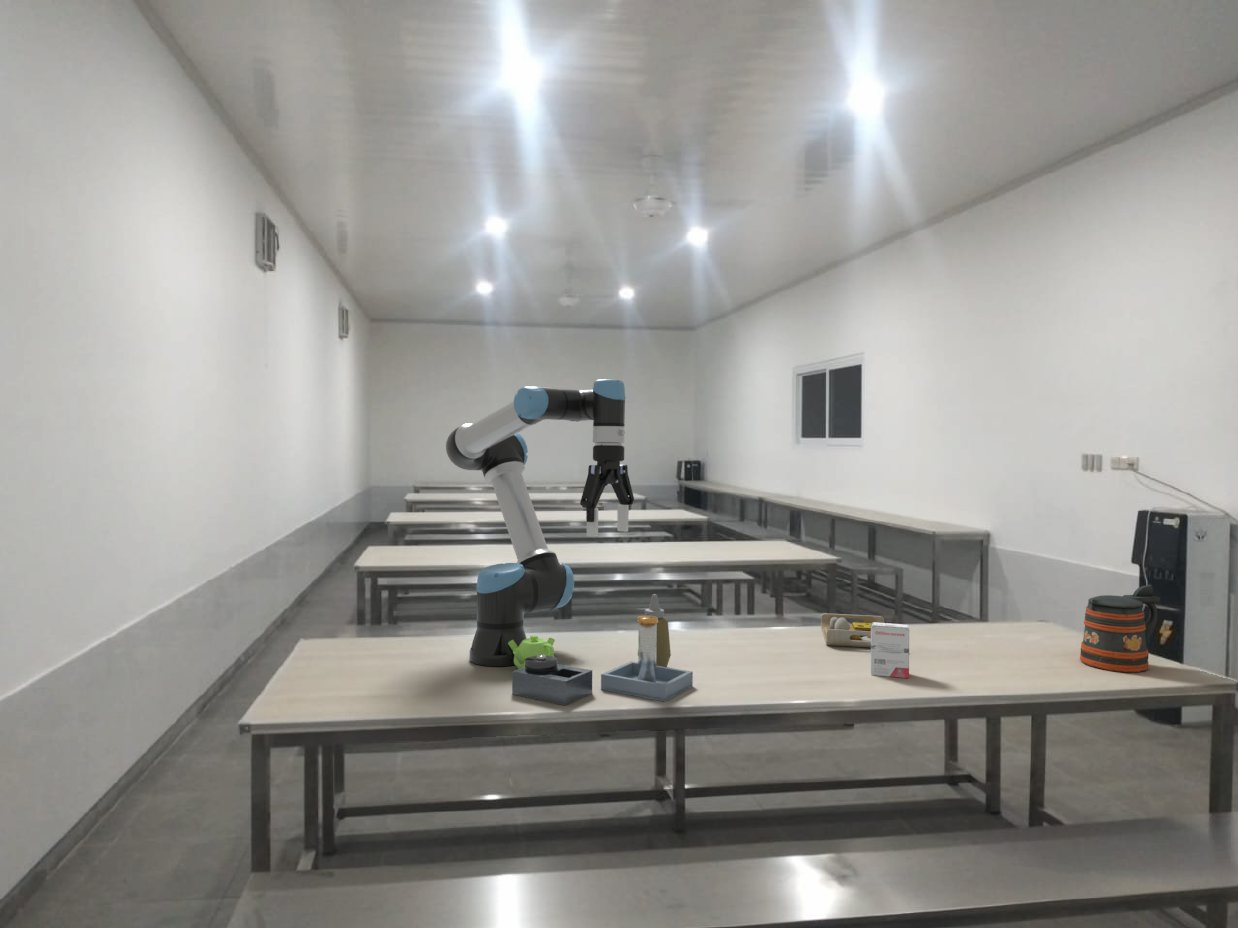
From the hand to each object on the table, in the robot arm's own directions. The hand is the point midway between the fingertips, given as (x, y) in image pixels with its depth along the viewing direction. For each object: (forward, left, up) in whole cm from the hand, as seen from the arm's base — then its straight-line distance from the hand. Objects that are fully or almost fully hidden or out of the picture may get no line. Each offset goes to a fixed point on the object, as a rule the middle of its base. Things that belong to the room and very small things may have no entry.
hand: (608, 533), depth 190 cm
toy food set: (+42, +66, -33) cm, 85 cm away
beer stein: (+105, +75, -33) cm, 133 cm away
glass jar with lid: (+15, -7, -32) cm, 36 cm away
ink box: (+58, +34, -33) cm, 75 cm away
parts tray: (+15, -7, -33) cm, 37 cm away
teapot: (-15, -10, -33) cm, 38 cm away
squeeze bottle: (+9, +7, -33) cm, 35 cm away
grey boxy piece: (0, -22, -33) cm, 39 cm away
